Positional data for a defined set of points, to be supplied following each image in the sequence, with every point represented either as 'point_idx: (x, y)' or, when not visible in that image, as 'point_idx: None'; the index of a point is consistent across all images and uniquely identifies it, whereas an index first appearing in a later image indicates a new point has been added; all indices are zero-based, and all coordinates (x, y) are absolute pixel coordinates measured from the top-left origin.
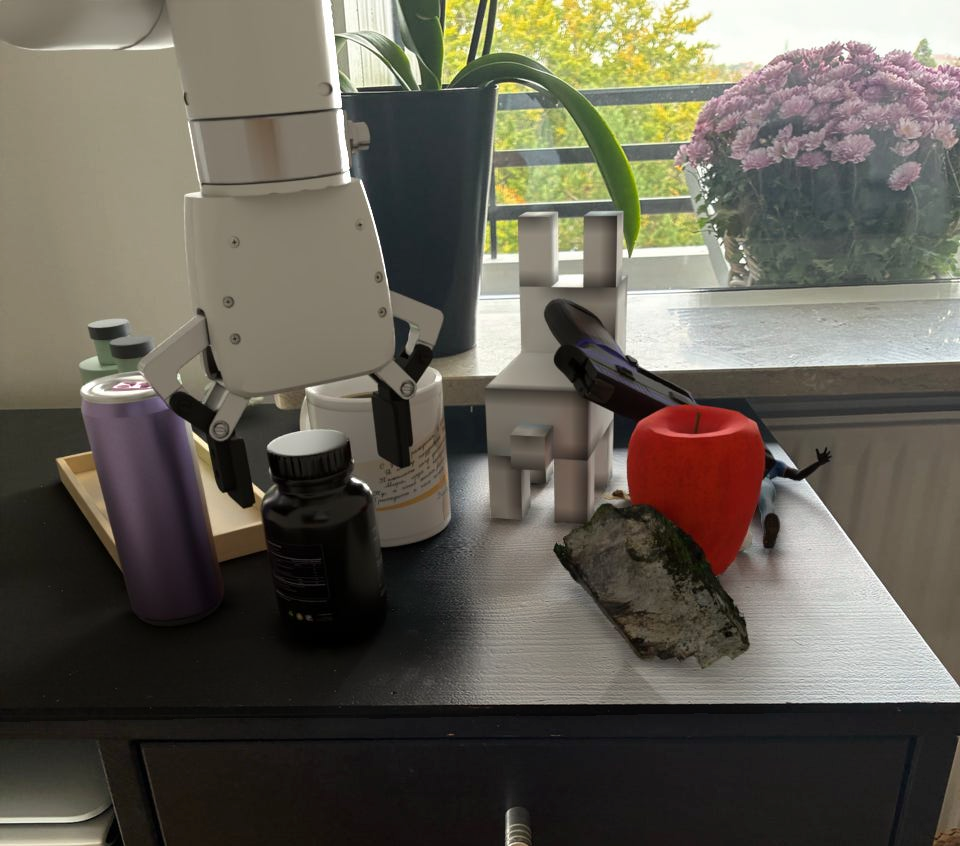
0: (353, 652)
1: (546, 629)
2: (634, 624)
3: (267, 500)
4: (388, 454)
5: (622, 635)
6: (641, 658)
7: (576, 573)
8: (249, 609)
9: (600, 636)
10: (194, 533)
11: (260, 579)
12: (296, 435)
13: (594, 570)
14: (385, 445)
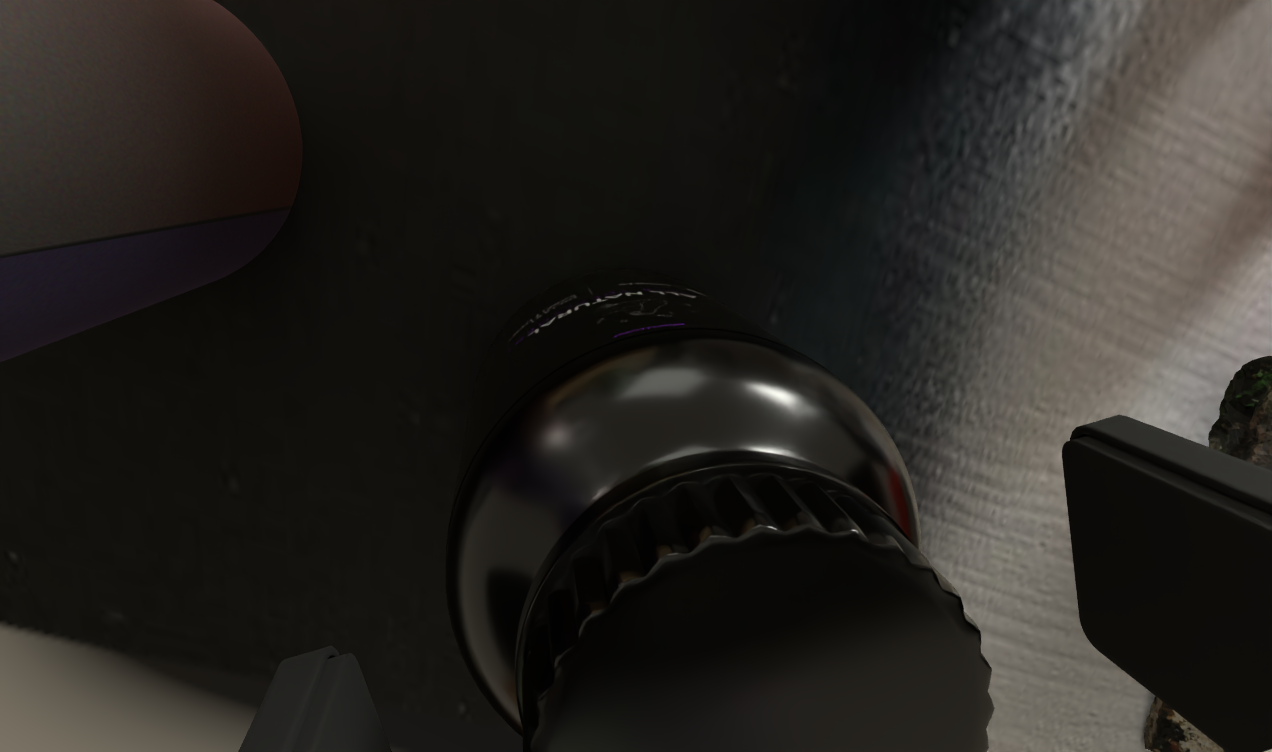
0: None
1: (1049, 584)
2: None
3: (483, 645)
4: (1097, 562)
5: None
6: (1145, 746)
7: (1228, 446)
8: (384, 232)
9: None
10: (153, 289)
11: (429, 23)
12: (732, 608)
13: None
14: (1123, 565)
